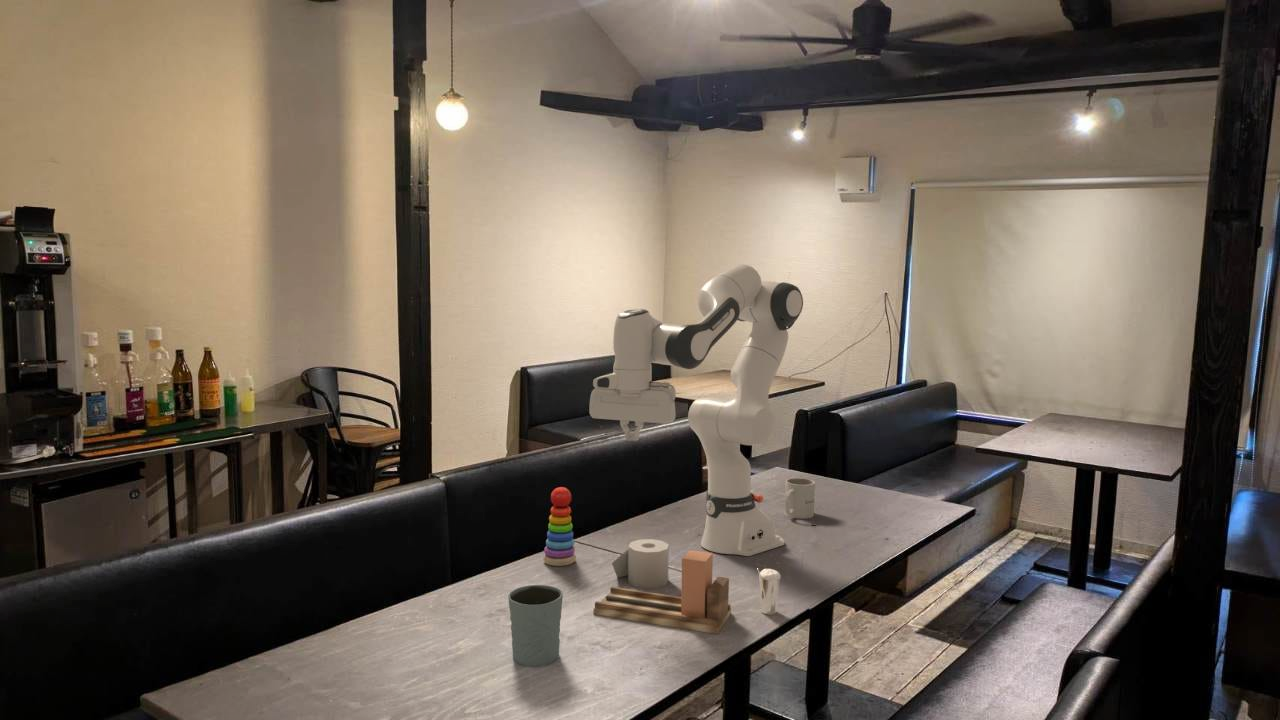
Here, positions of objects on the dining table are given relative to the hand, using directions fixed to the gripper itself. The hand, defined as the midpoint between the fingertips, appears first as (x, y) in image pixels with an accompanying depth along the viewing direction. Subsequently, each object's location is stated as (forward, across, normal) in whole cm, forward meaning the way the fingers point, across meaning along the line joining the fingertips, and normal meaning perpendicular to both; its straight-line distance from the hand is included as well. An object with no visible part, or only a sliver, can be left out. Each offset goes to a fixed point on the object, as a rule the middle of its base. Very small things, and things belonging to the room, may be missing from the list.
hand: (631, 439), depth 194 cm
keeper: (+32, -21, +17) cm, 41 cm away
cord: (+32, -12, +17) cm, 38 cm away
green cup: (+33, +3, +44) cm, 55 cm away
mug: (+33, -27, -66) cm, 79 cm away
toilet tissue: (+33, -3, 0) cm, 34 cm away
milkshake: (+33, -34, +8) cm, 48 cm away
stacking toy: (+33, +20, -4) cm, 39 cm away
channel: (+33, -14, +17) cm, 39 cm away
